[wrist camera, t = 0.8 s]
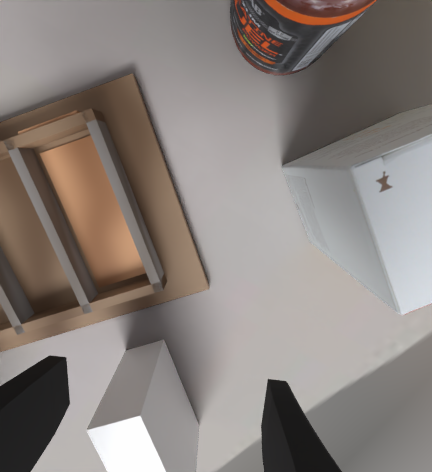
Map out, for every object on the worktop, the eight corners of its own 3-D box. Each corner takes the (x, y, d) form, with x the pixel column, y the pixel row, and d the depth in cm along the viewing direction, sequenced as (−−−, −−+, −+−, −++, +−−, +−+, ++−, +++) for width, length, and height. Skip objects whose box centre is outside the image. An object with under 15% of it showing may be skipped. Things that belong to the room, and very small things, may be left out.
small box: (308, 242, 21) (395, 323, 10) (278, 164, 19) (344, 168, 9) (426, 195, 20) (646, 230, 10) (402, 110, 19) (625, 48, 8)
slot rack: (-45, 362, 23) (-70, 381, 21) (-152, 182, 20) (-194, 184, 18) (209, 285, 21) (208, 298, 19) (134, 76, 18) (124, 65, 16)
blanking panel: (163, 434, 25) (142, 539, 18) (126, 350, 23) (86, 430, 16) (199, 425, 24) (191, 527, 17) (164, 339, 23) (140, 415, 16)
